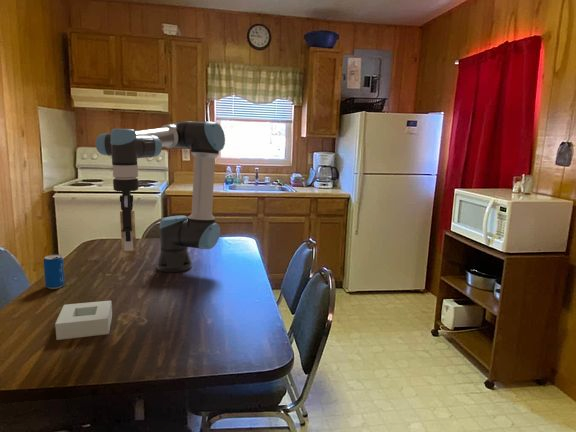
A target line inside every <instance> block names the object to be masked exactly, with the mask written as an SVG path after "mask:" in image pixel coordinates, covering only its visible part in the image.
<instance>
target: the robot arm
mask: <svg viewBox="0 0 576 432" xmlns="http://www.w3.org/2000/svg"><path fill="white" fill-rule="evenodd" d="M225 136H226V135H225V131H224V129H223V127H222V126H221V124H220V123H218V122H214V121H207V120H204V121H199V120H198V121H197V120H195V121H194V120H192V121H191V120H184V121H179V122H174V123H168V124H164V125H162V126H161V127H157V128H150V129H149V128H147V129H142V130H135V129H133V128H132V129H131V128H113V129H111V131H110V133H109V132H108V133H100V134H99V135H98V136H97V137H96V140H95V148H96V150H97V152H98V153H99V154H101V155H102V156H108V157H111V162H112V163H111V166H112V167H110V168H109V170H110V171H112V177H113V180H112V183H113V185H112V186H113V190H114V191H115V192H122V193H121V195H119V202H120V210H121V211H122V215H123V230H121V229H120V233H121V232H123V234H124V251H133V232H132V222H131V211H133V207H134V204H133V202H134V195H132V194H131V192H135V191H138V190H139V179H138V177H139V168H138V167H139V165H138V159H145V158H146V159H148V158H150V159H151V158H155V157H158V156H159V155H160V154H161V153H162V149H163V148H164V147H165V148H167V149H172V148H180V149H187V150H189V149H190V154H191V155H192V156H193V158H194V159H193V176H192V177H193V179H192V196H191V197H192V198H191V199H192V201H191V214H190V215H188V216H187V215H182V214H181V215H173V216H172V215H171V216H168V217H164V218H163V217H162V219H160V222H159V229H158V230H159V241H160V242H159V244H160V245H159V246H160V248H159V249H160V251H159V255H158V258H157V261H156V270H158V271H159V272H163V273H181V272H185V271H188V270H190V269H191V268H192V267H193V266H192V264H193V263H192V259H191V256H190V252H189V250H188V248H192V249H200V250H212V249H213V248H214V247H215V246H216V245H217V243H218V242H219V240H220V236H221V228H220V225H219V224H218V223H217V222H216V217H215V216H214V214H213V205H214V204H213V201H214V185H215V184H214V182H215V164H216V161H215V160H216V158H217V157H218V156H219V153H220V152H221V151H222V150H223V149H224V147H225V145H226V137H225ZM219 151H220V152H219Z"/></svg>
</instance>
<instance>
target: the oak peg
mask: <svg viewBox="0 0 576 432" xmlns="http://www.w3.org/2000/svg"><path fill="white" fill-rule="evenodd" d="M135 216H136V215H135V211H134V210H132V211H131V222H132V232H133V251H124V234H123V232H121V230H123V215H122V210H121V211H120V212H119V218H120V219H119V220H120V236H121V238H120V239H121V254H122V255H121V256H122V257H121V258H122V261H124V262H131V261H135V260H137V256H138V254H137V241H136V240H137V239H136V238H137V237H136V234H137V233H136V219H135V218H136V217H135Z"/></svg>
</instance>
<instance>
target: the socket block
mask: <svg viewBox="0 0 576 432" xmlns="http://www.w3.org/2000/svg"><path fill="white" fill-rule="evenodd" d="M112 317H113V305H112V300H104V301H92V302H81V303H79V302H78V303H68V304H63V306H62V308H61V310H60V312H59V314H58V316H57V319H56V321H55V324H54V326H55V327H54V328H55V336H56V337H55V338H56V341H58V340H59V341H60V340H70V339H77V338H86V337H93V336H95V337H96V336H104V335H110V330H111V329H110V328H111V324H112Z"/></svg>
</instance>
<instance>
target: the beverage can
mask: <svg viewBox="0 0 576 432" xmlns="http://www.w3.org/2000/svg"><path fill="white" fill-rule="evenodd" d="M43 270H44V272H43V273H44V283H45V287H46V288H48V289H50V290H55V289H60V288H63V286H64V285H66V282H65V280H66V279H65V269H64V258H63V257H62V255H61V254H50V255H46V256H44V259H43Z"/></svg>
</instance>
